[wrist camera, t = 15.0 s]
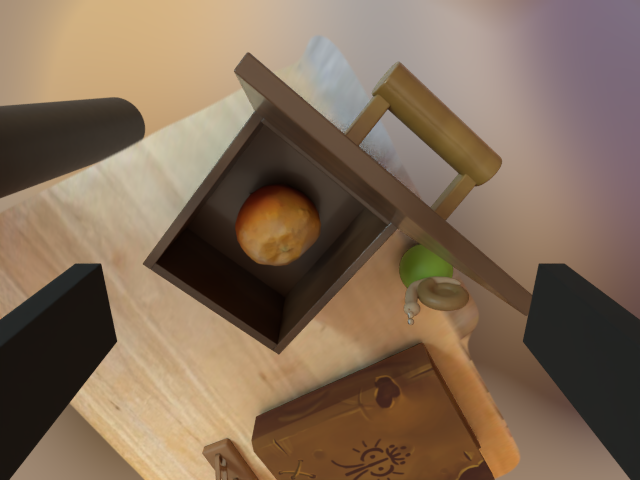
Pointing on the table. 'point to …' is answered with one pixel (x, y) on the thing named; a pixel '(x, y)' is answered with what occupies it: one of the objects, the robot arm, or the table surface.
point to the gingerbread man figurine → (227, 461)
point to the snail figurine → (429, 282)
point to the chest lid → (376, 182)
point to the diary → (373, 428)
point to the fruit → (277, 225)
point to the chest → (244, 273)
